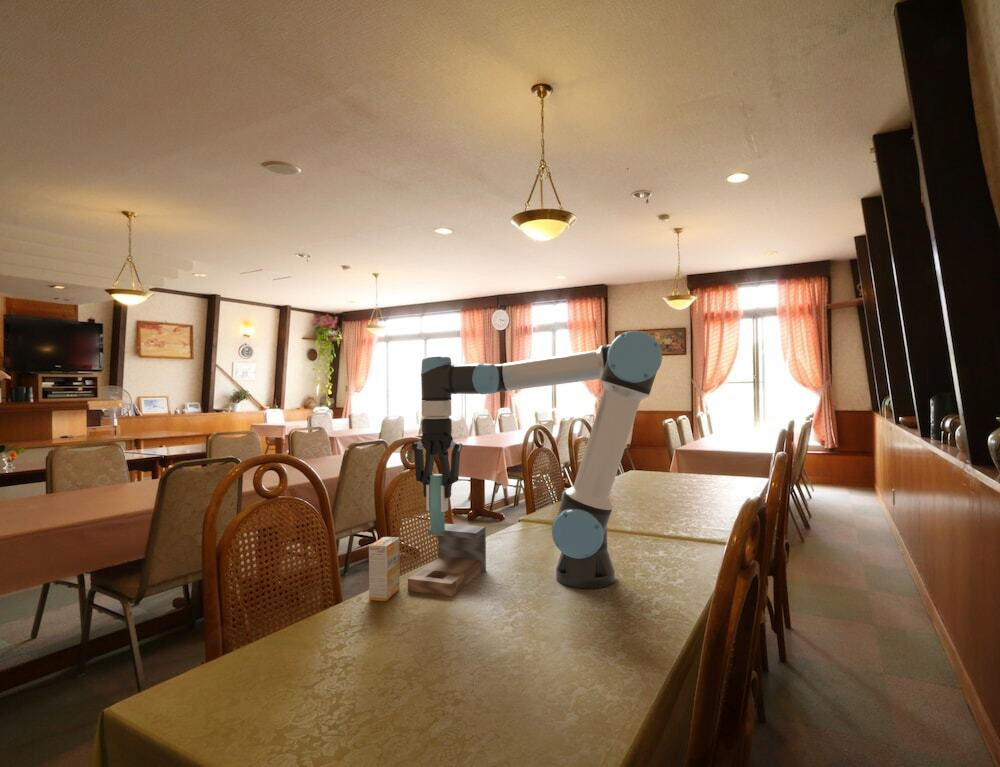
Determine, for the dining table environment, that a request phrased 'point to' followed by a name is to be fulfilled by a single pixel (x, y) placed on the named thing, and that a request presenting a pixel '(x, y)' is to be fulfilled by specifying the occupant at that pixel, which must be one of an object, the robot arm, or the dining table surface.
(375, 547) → the supplement box
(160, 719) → the dining table surface
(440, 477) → the peg
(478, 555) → the socket station
